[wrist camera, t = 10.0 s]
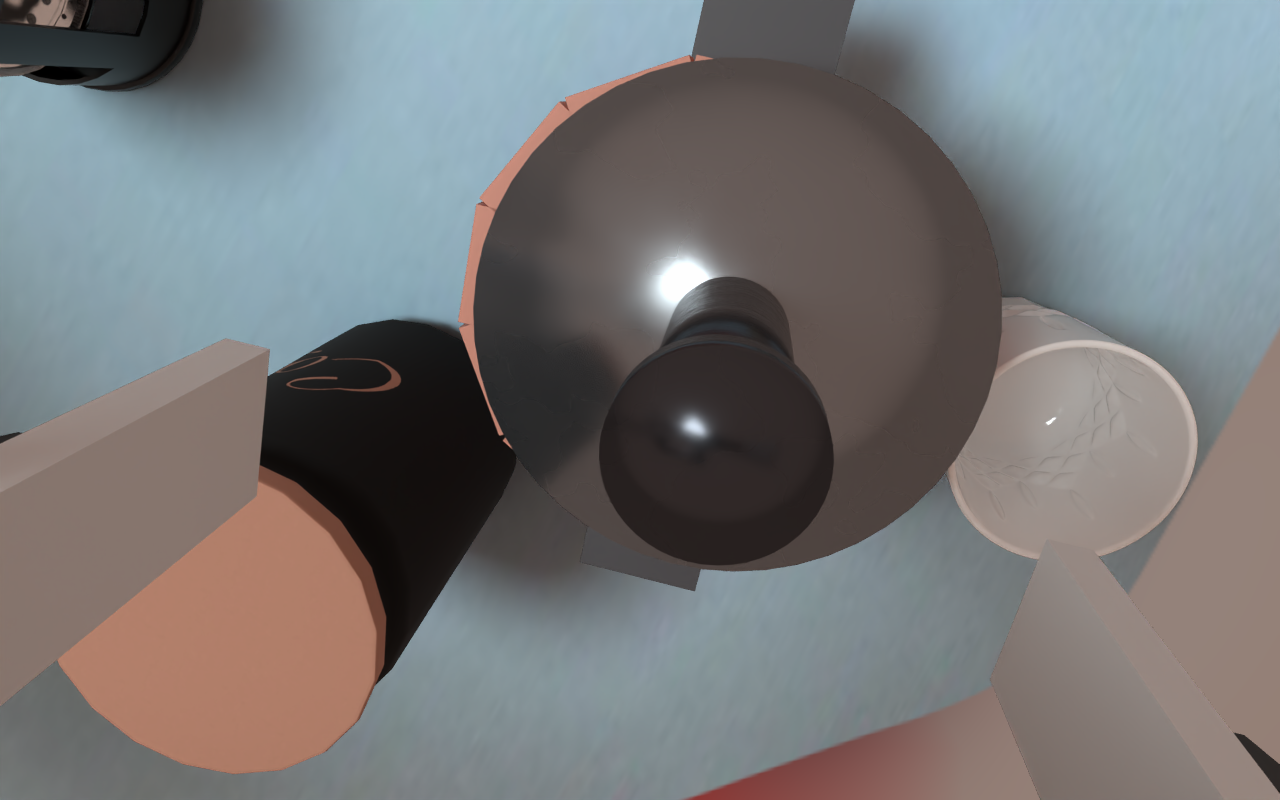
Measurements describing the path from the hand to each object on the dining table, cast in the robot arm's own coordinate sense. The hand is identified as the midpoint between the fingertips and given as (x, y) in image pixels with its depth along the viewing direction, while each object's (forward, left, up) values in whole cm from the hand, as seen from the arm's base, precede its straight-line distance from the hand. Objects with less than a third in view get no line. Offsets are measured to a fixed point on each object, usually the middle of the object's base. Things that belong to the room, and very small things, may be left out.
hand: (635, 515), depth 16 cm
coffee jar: (-12, -11, -27) cm, 31 cm away
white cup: (+13, -2, -27) cm, 30 cm away
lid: (+1, 0, -16) cm, 16 cm away
